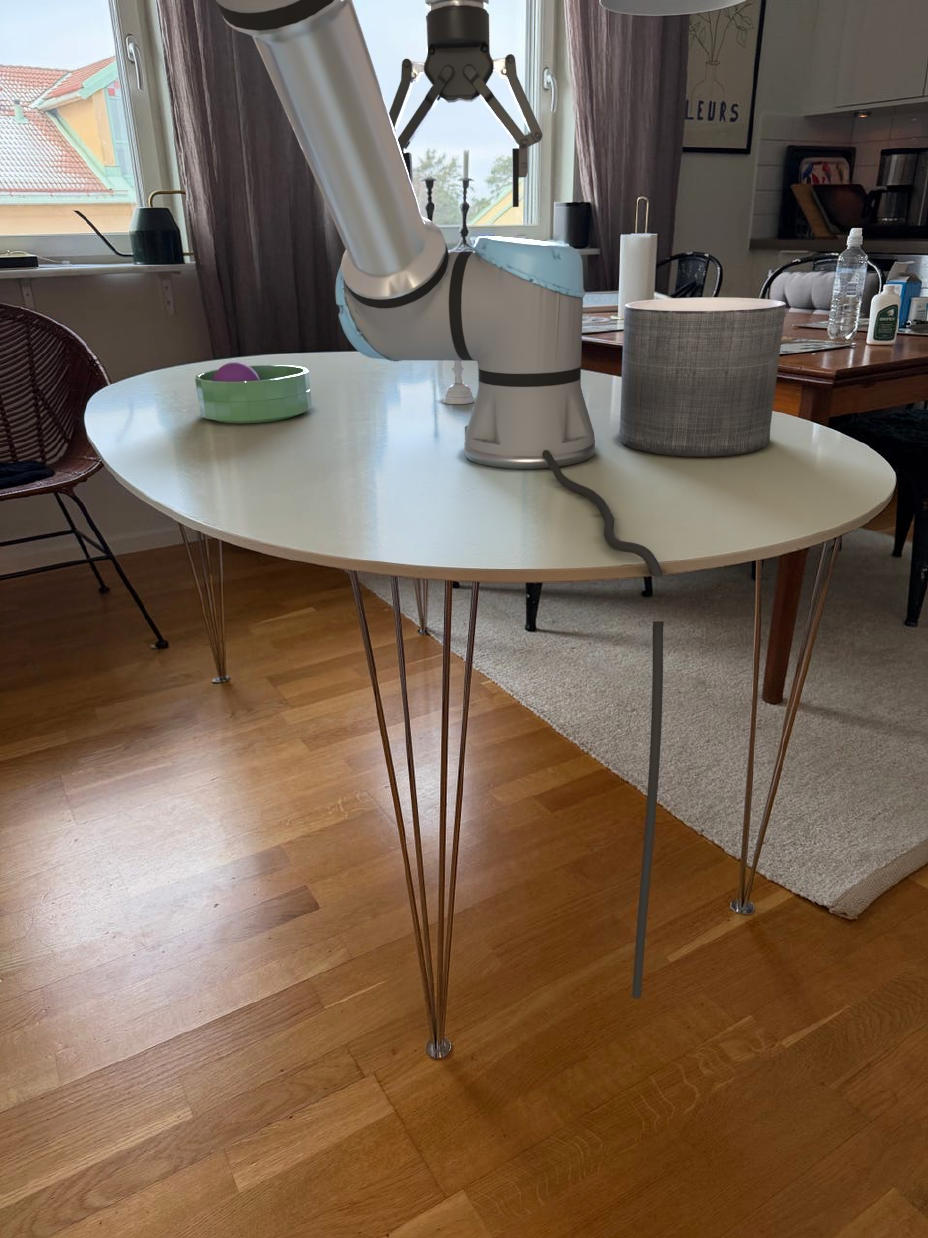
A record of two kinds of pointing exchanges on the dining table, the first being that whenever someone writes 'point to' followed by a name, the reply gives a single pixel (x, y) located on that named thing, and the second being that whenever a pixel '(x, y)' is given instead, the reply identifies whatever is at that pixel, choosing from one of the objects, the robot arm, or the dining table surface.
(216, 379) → the ball
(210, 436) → the dining table surface
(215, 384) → the bowl
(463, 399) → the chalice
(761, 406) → the planter
